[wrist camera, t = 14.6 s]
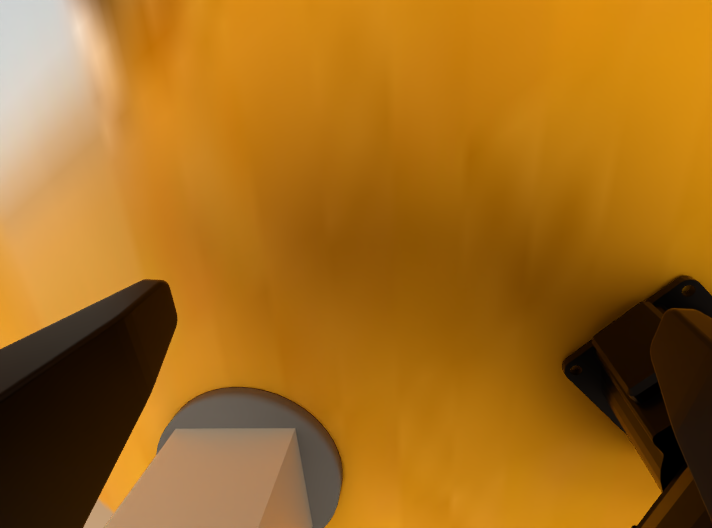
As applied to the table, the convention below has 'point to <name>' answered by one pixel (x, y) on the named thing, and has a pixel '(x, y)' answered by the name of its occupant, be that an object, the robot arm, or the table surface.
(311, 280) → the table surface
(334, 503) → the gray disc
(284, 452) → the rubber stamp
